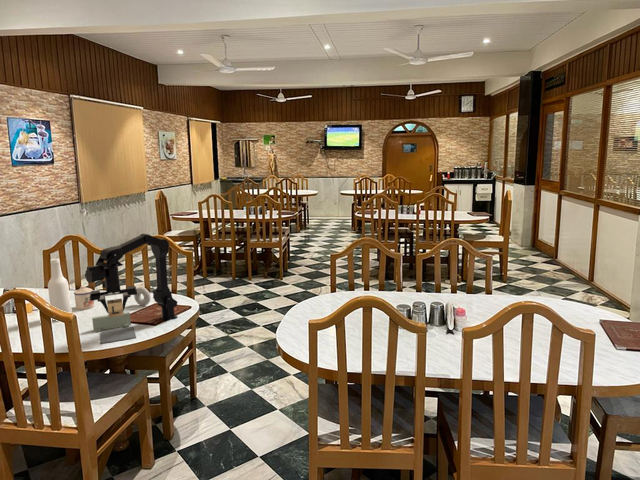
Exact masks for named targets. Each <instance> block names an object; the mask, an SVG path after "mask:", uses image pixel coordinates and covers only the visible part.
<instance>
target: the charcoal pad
mask: <svg viewBox="0 0 640 480" xmlns="http://www.w3.org/2000/svg"><path fill="white" fill-rule="evenodd" d="M133 339H137V335H136V330H135V326H129V327H125V328H124V327H121V328H117V329H116V328H115V329H111V330H110V329H109V330H102V331H101V332H100V344H101V345H104V344H109V343H115V342H121V341H127V340H133Z"/></svg>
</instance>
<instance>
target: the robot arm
mask: <svg viewBox="0 0 640 480" xmlns="http://www.w3.org/2000/svg"><path fill="white" fill-rule="evenodd" d="M143 245H148V246H150V248H151V252H152V254H153V256H154V259H155V273H156V288H155V289H154V290H153V289H152V295H153V297H152V299H154V302H155V303H156V304H157V305H158V307H161V316H159V319H161V317H162V319H161V320H163V319H164V320H163V321H165V322H167V321H170V320H174V319H176V318H177V319H178V315H176V314H175V307H177V306H178V301H177V300H176V299H175V298H173V294H172V291H171V289H170V287H169V285H168V284H169V282H168V268H167V267H168V266H167V255H168V253H169V250H170V243H169V241H168V240H167V239H165V238H159V237H155V236H152V235H151V234H149V233H141V234H139V235H137V236H136V237H133V238H132V239H129V240H128V241H125V242H123V243H122V244H120V245H116V246H114V245H113V246H110V247H106V248H103V249H102V250H101V251H100V255H99V257H98V258H97V261H96V263H95V265H92V266H90V265H89V266H87V267H86V270H85V273H84V278H85V280H86V282H87V283H89V284H91V283H95V282H96V283H97V282H100V281H101V287H102V289H105V291H100V289H99V290H93V291H91V292H90V301H93V300H94V301H97V302H100V303H101V304H102V306H103V308H104V309H105V311H106V313H107V314H108V306H107V299H106V297H107V296H116V295H122V304H123V312H124V311H125V308H126V304H127V301H128V300H129V298H131V296H134V295H136V294H137V287H136V285H129V286H127V285H126V286H125V287H126V288H124V289H121V281H120V274H119V267H122V266H123V265H124V264H123V263H121V262H120V260H121V259H123V258H124V257H123V256H125V255H126V254H128V253H130V252H132V251H134V250H136V249H138V248H140V247H142V246H143Z"/></svg>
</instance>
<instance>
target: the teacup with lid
mask: <svg viewBox="0 0 640 480" xmlns="http://www.w3.org/2000/svg"><path fill="white" fill-rule="evenodd" d="M91 291H94V290H93V288H90V287H86V286H85V285H81V286H80V288H78V289H76V290H74V293H73V295H74V301H75V308H76V310H78V311H86V310H89V309H93V308H94V307H95V300H93V301H90V292H91Z"/></svg>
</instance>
